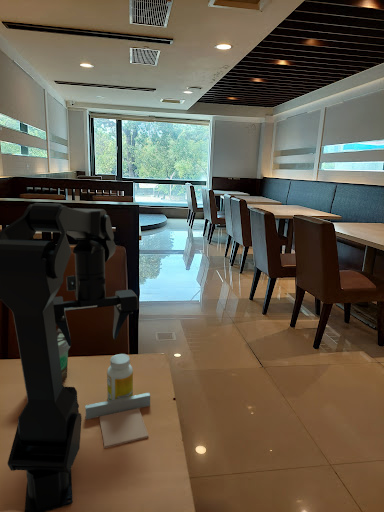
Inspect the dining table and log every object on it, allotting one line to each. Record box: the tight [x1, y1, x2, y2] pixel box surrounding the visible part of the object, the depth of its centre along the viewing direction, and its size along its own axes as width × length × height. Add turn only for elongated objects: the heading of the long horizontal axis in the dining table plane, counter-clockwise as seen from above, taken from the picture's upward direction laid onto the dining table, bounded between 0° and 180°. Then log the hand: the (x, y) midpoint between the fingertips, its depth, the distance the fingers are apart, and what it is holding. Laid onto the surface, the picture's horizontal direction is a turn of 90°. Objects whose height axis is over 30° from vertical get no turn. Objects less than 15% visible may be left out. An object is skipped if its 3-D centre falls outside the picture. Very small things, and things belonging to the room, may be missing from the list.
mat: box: [99, 408, 149, 449], centre depth 66 cm, size 8×8×1 cm
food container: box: [57, 328, 71, 383], centre depth 79 cm, size 12×6×10 cm, turn 164°
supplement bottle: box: [106, 353, 134, 401], centre depth 73 cm, size 5×5×10 cm
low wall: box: [84, 392, 151, 420], centre depth 70 cm, size 1×13×2 cm, turn 111°
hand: (92, 341), depth 73 cm, fingers open, 9 cm apart
